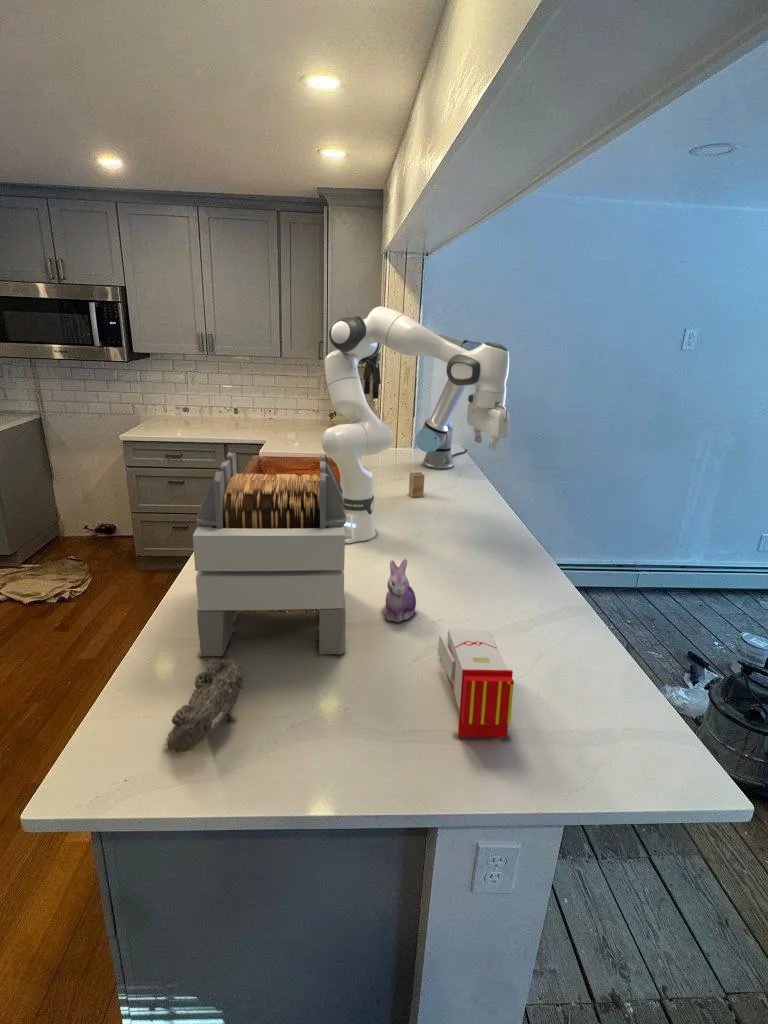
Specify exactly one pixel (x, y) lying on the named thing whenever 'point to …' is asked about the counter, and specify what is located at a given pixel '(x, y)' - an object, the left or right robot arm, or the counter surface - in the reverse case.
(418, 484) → the brown wooden block
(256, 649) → the counter surface
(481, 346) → the left robot arm
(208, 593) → the transformer
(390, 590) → the figurine
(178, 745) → the fossil
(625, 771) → the counter surface
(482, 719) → the toy
